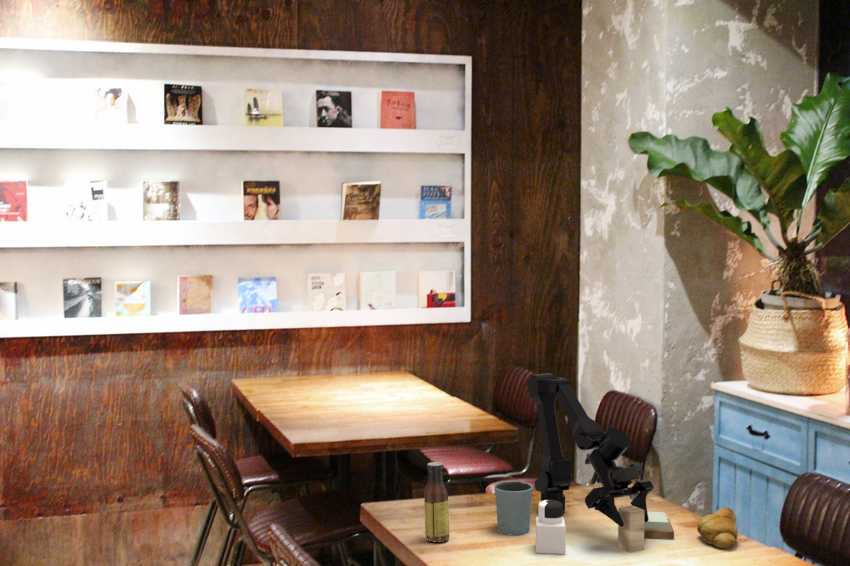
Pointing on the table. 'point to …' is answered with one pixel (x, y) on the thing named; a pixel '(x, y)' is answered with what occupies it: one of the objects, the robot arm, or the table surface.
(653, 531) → the walnut base slab
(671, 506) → the table surface
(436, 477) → the sauce bottle
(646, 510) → the robot arm
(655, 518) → the sage slab
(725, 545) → the bread roll
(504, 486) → the teal cup
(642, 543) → the oak block
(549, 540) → the medicine bottle
